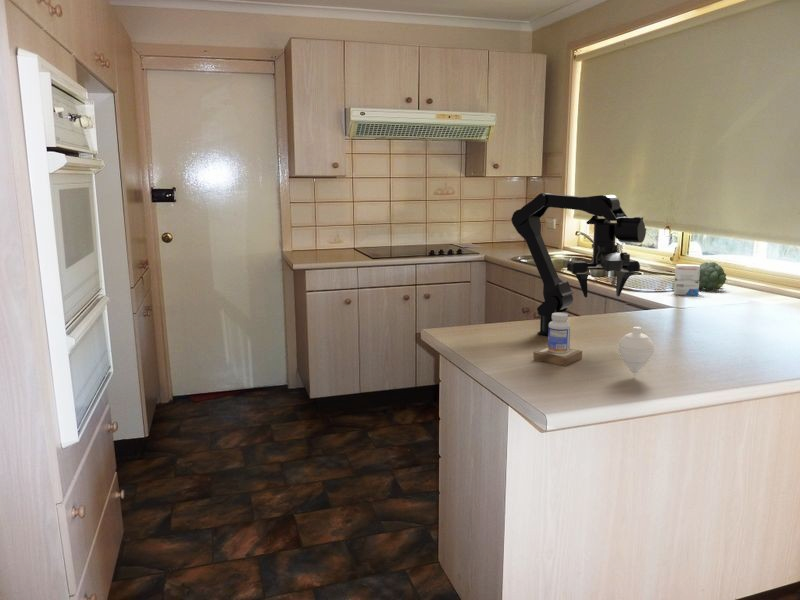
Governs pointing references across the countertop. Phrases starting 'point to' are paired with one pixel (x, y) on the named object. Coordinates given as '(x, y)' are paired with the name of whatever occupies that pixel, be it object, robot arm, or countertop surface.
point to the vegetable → (711, 276)
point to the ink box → (687, 279)
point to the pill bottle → (559, 333)
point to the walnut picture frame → (557, 356)
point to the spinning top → (635, 350)
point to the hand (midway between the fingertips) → (601, 296)
